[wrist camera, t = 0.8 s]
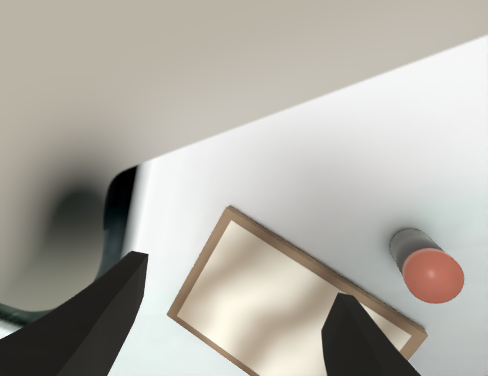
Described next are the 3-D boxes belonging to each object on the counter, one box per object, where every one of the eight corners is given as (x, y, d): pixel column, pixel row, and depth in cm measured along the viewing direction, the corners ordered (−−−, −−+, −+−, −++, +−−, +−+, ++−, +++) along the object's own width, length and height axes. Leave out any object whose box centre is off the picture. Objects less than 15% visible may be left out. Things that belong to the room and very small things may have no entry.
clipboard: (423, 328, 28) (431, 343, 26) (341, 430, 31) (341, 452, 29) (229, 205, 32) (222, 210, 29) (171, 309, 35) (160, 320, 32)
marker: (438, 239, 27) (475, 272, 20) (414, 271, 28) (442, 313, 21) (401, 218, 28) (425, 242, 21) (379, 249, 29) (394, 284, 21)
